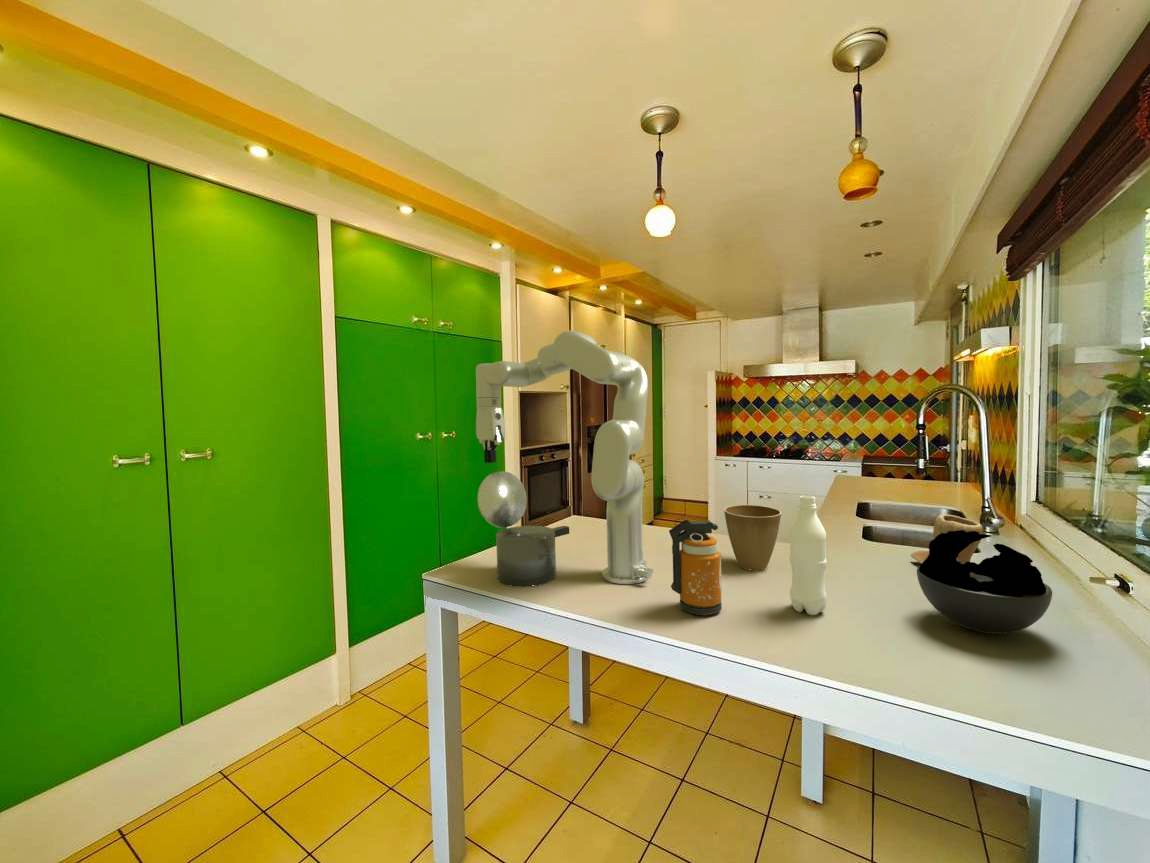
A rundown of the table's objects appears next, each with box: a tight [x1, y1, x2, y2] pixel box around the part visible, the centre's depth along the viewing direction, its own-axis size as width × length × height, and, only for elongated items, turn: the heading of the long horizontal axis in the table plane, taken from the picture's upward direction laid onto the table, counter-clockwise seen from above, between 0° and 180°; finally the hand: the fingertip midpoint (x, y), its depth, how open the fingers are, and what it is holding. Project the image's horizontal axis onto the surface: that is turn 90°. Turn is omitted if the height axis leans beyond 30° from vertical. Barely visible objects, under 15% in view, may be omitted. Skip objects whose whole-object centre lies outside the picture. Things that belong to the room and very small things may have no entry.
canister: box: [668, 519, 723, 616], centre depth 105 cm, size 9×11×20 cm
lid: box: [477, 470, 528, 528], centre depth 136 cm, size 16×16×3 cm
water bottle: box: [789, 495, 828, 616], centre depth 102 cm, size 7×7×25 cm
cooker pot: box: [495, 525, 570, 587], centre depth 132 cm, size 18×23×12 cm
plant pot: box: [723, 504, 782, 571], centre depth 131 cm, size 15×15×16 cm
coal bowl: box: [916, 530, 1053, 634], centre depth 92 cm, size 20×20×19 cm
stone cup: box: [910, 513, 984, 565], centre depth 123 cm, size 15×12×15 cm
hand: (490, 462), depth 147 cm, fingers closed
